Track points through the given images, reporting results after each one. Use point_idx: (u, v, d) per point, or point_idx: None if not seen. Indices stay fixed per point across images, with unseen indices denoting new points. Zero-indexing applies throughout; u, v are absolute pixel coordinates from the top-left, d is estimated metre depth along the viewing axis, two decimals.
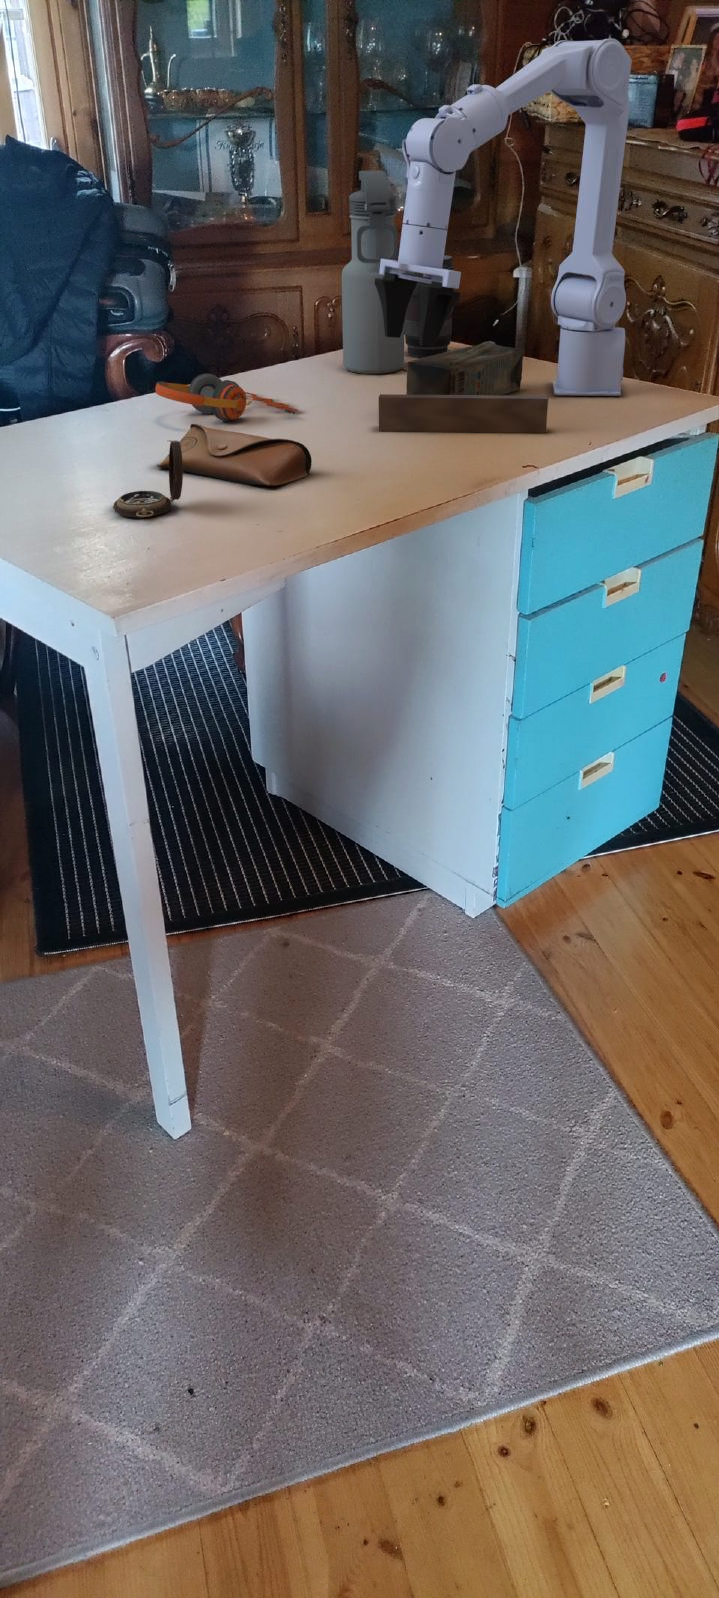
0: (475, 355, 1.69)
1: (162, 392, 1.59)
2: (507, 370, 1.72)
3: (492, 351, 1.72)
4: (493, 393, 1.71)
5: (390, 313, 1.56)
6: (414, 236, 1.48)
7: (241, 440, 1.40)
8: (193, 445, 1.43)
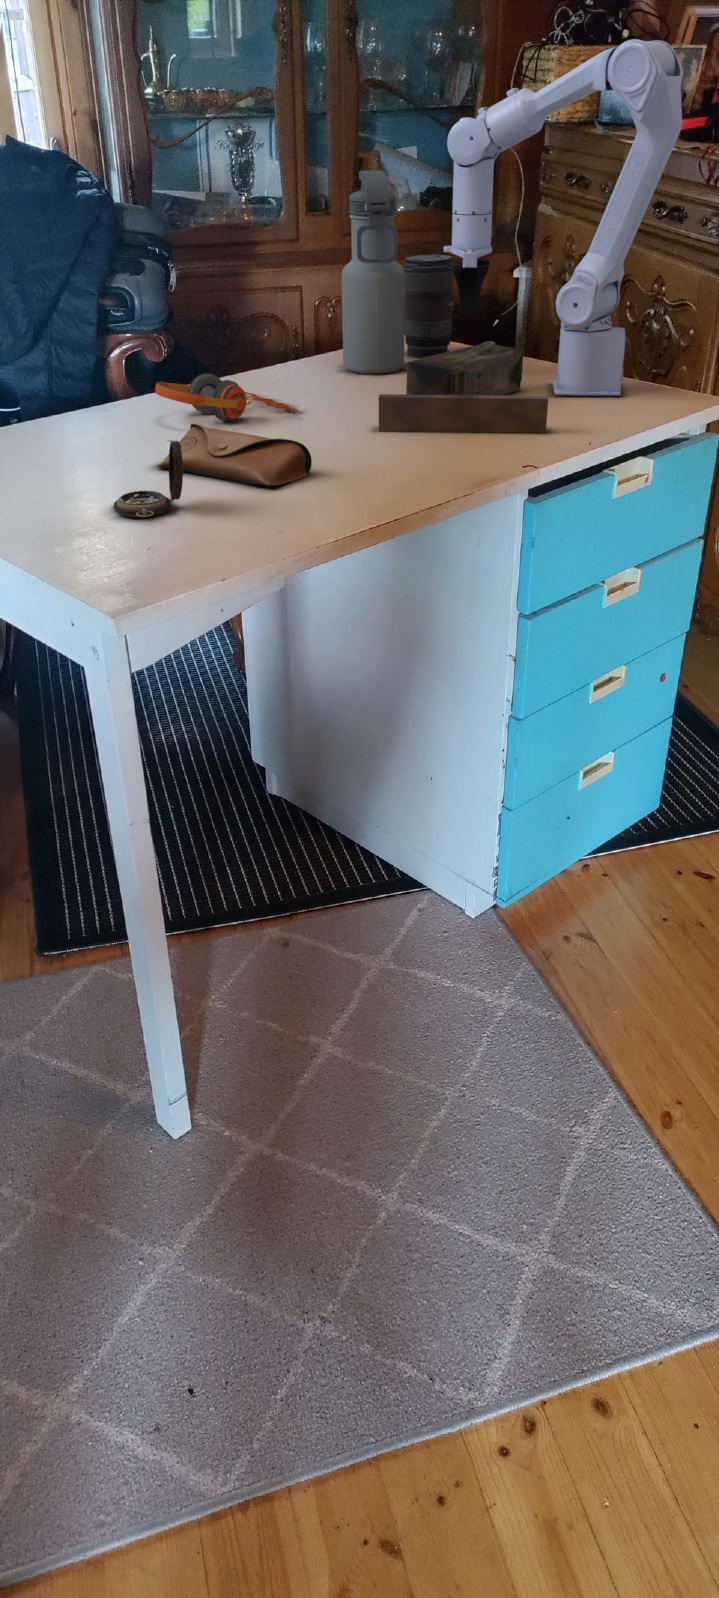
0: (475, 355, 1.69)
1: (162, 392, 1.59)
2: (507, 370, 1.72)
3: (492, 351, 1.72)
4: (493, 393, 1.71)
5: None
6: (454, 223, 1.72)
7: (241, 440, 1.40)
8: (193, 445, 1.43)
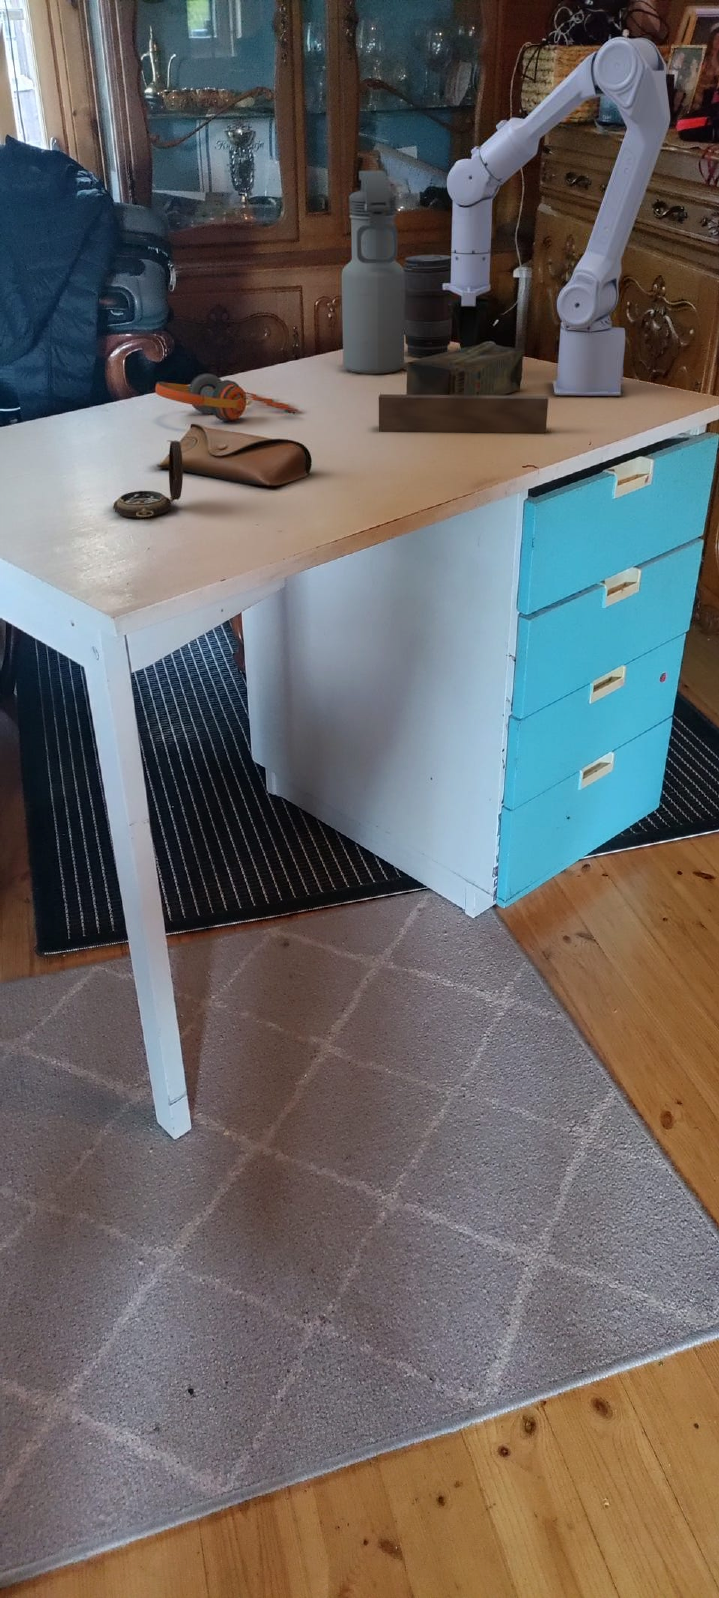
0: (475, 355, 1.69)
1: (162, 392, 1.59)
2: (507, 370, 1.72)
3: (492, 351, 1.72)
4: (493, 393, 1.71)
5: None
6: (453, 262, 1.74)
7: (241, 440, 1.40)
8: (193, 445, 1.43)
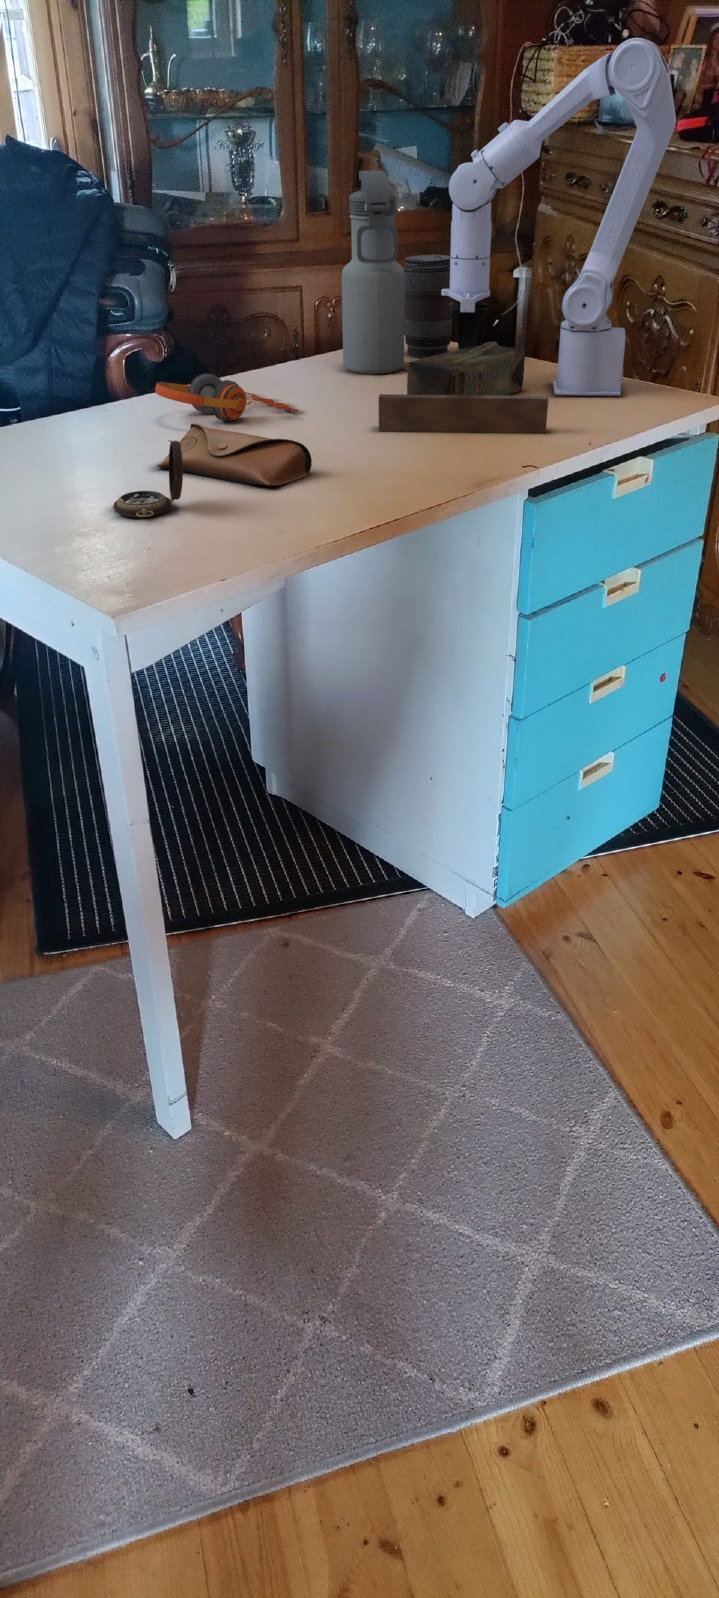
0: (476, 355, 1.69)
1: (162, 392, 1.59)
2: (509, 370, 1.72)
3: (494, 351, 1.72)
4: (494, 393, 1.70)
5: None
6: (452, 267, 1.70)
7: (241, 440, 1.40)
8: (193, 445, 1.43)
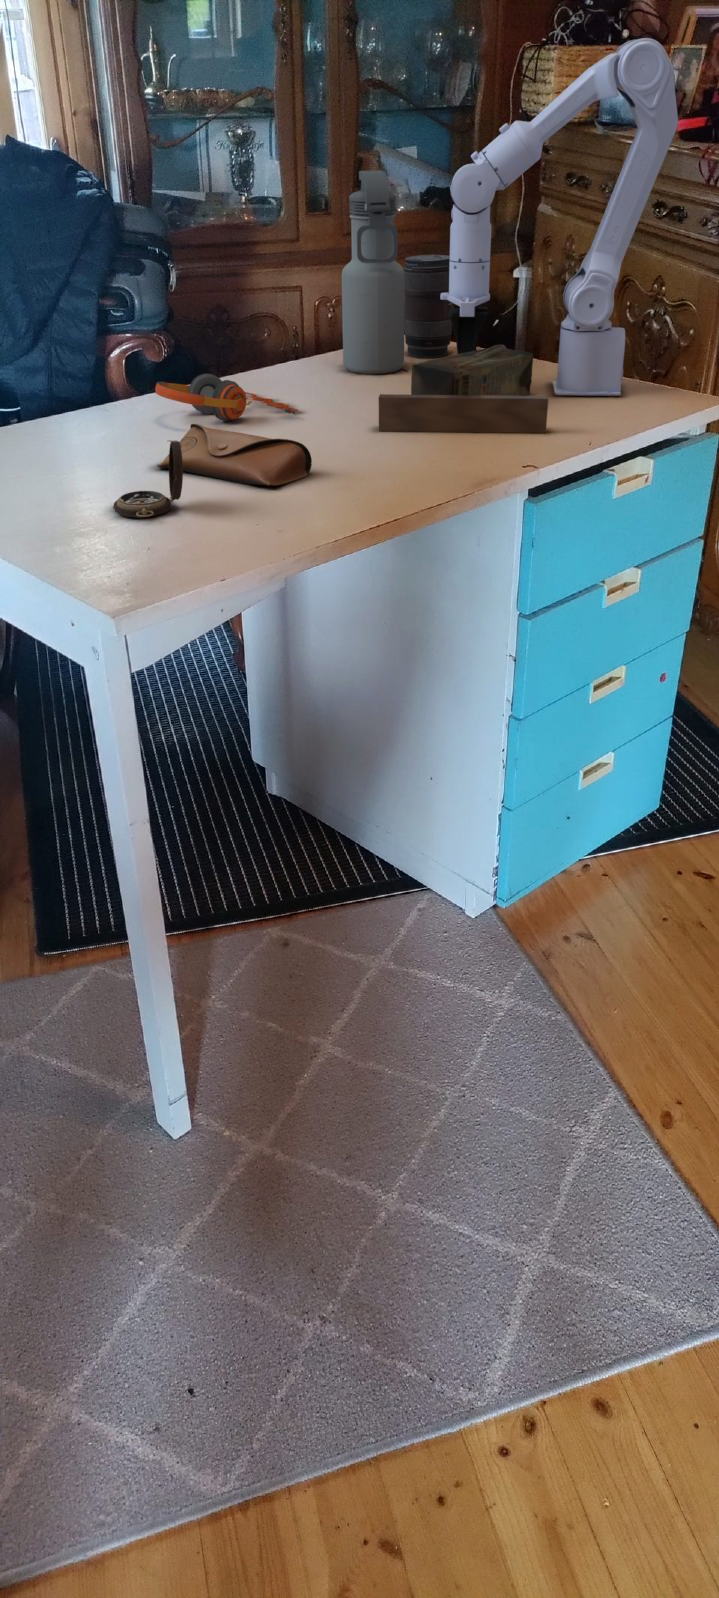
0: (482, 358, 1.67)
1: (162, 392, 1.59)
2: (516, 374, 1.70)
3: (501, 354, 1.70)
4: None
5: None
6: (451, 270, 1.67)
7: (241, 440, 1.40)
8: (193, 445, 1.43)
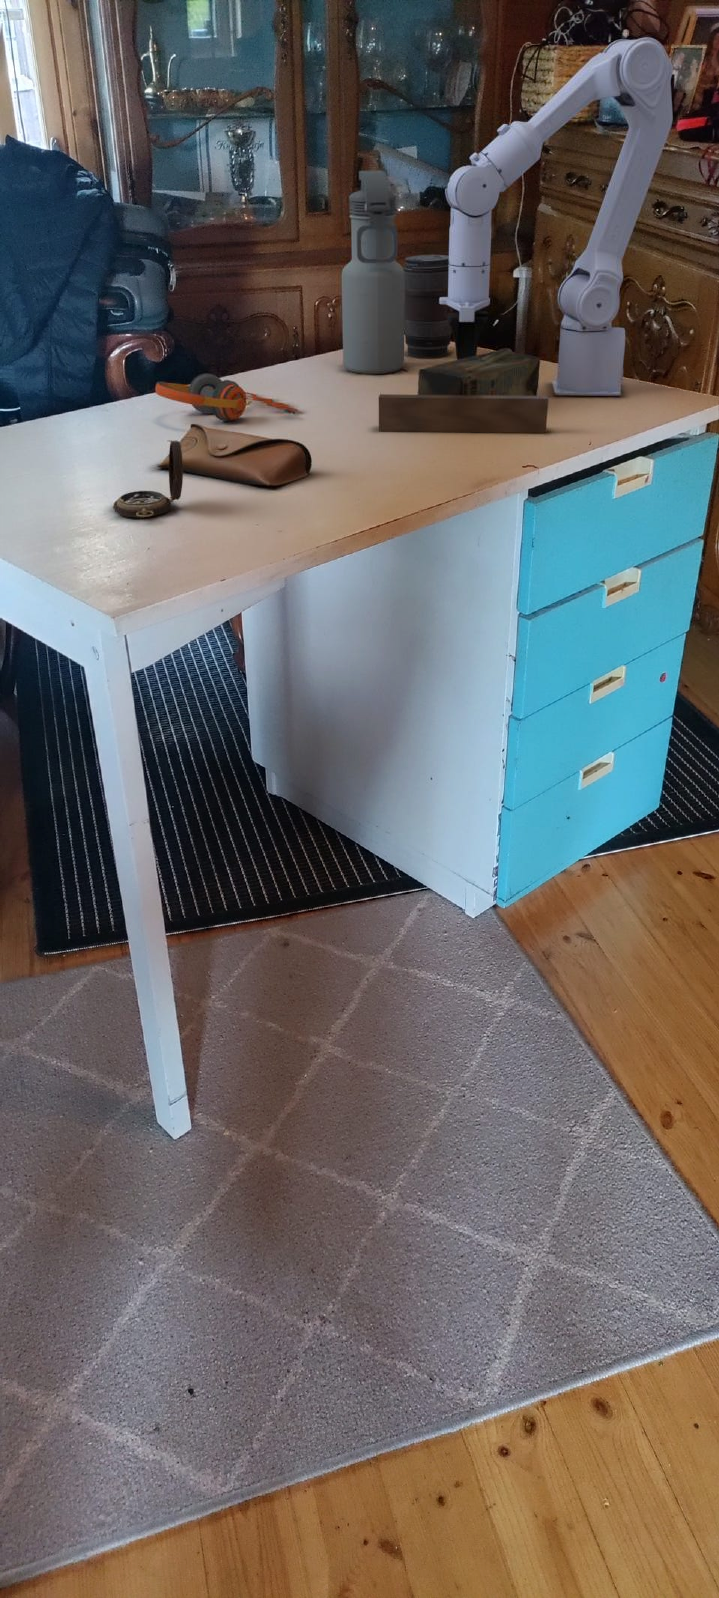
0: (489, 363, 1.65)
1: (162, 392, 1.59)
2: (523, 378, 1.67)
3: (508, 358, 1.68)
4: None
5: None
6: (450, 275, 1.64)
7: (241, 440, 1.40)
8: (193, 445, 1.43)
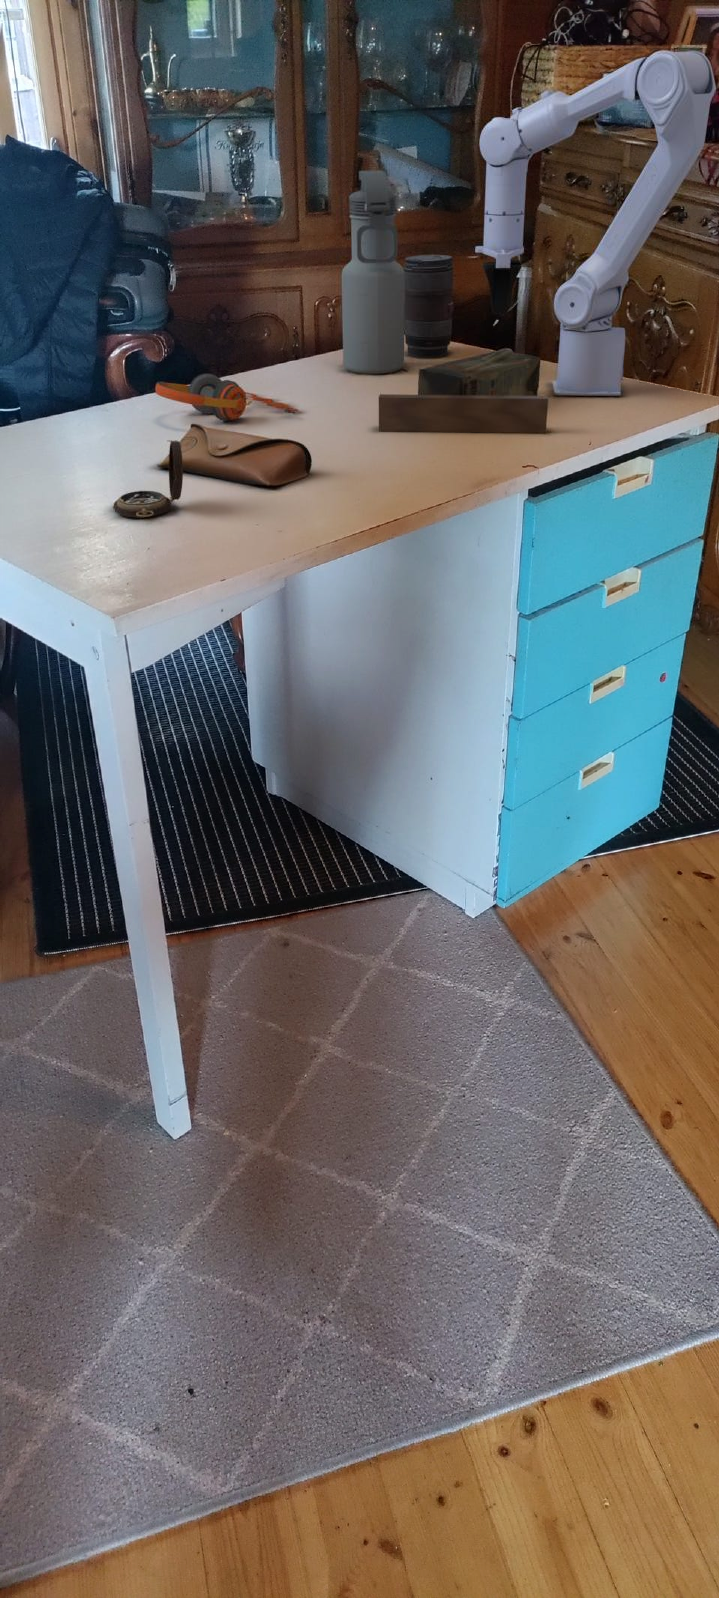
0: (490, 363, 1.65)
1: (162, 392, 1.59)
2: (523, 378, 1.67)
3: (508, 358, 1.68)
4: None
5: None
6: (486, 223, 1.71)
7: (241, 440, 1.40)
8: (193, 445, 1.43)
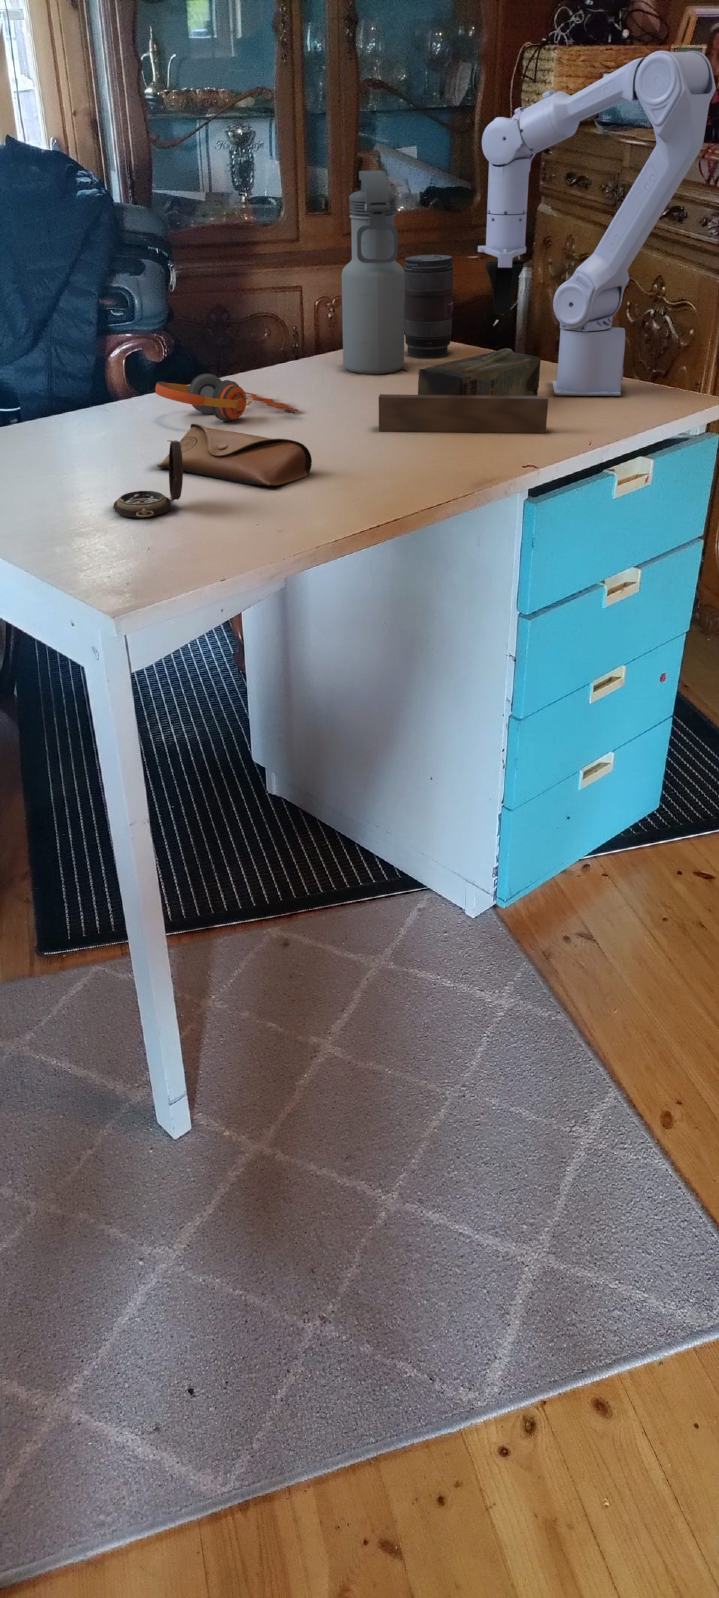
0: (490, 363, 1.65)
1: (162, 392, 1.59)
2: (523, 378, 1.67)
3: (508, 358, 1.68)
4: None
5: None
6: (489, 223, 1.71)
7: (241, 440, 1.40)
8: (193, 445, 1.43)
